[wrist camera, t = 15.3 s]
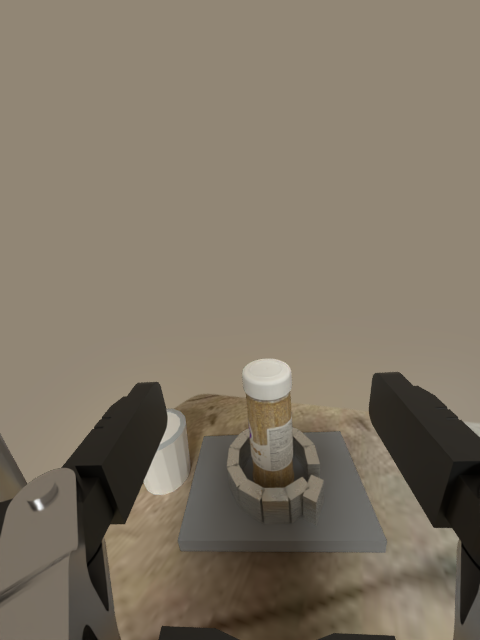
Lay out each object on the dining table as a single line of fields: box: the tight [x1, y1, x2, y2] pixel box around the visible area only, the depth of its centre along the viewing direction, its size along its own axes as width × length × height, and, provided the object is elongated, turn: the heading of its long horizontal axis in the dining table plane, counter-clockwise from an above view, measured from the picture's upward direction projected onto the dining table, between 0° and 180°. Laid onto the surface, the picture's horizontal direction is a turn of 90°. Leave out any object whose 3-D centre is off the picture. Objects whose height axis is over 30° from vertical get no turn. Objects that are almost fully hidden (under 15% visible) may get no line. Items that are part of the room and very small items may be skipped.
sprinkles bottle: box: [242, 359, 294, 488], centre depth 25 cm, size 5×5×13 cm
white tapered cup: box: [143, 409, 191, 495], centre depth 29 cm, size 7×7×7 cm
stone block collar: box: [227, 427, 324, 525], centre depth 26 cm, size 9×10×3 cm
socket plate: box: [178, 431, 387, 552], centre depth 27 cm, size 18×12×2 cm, turn 87°
